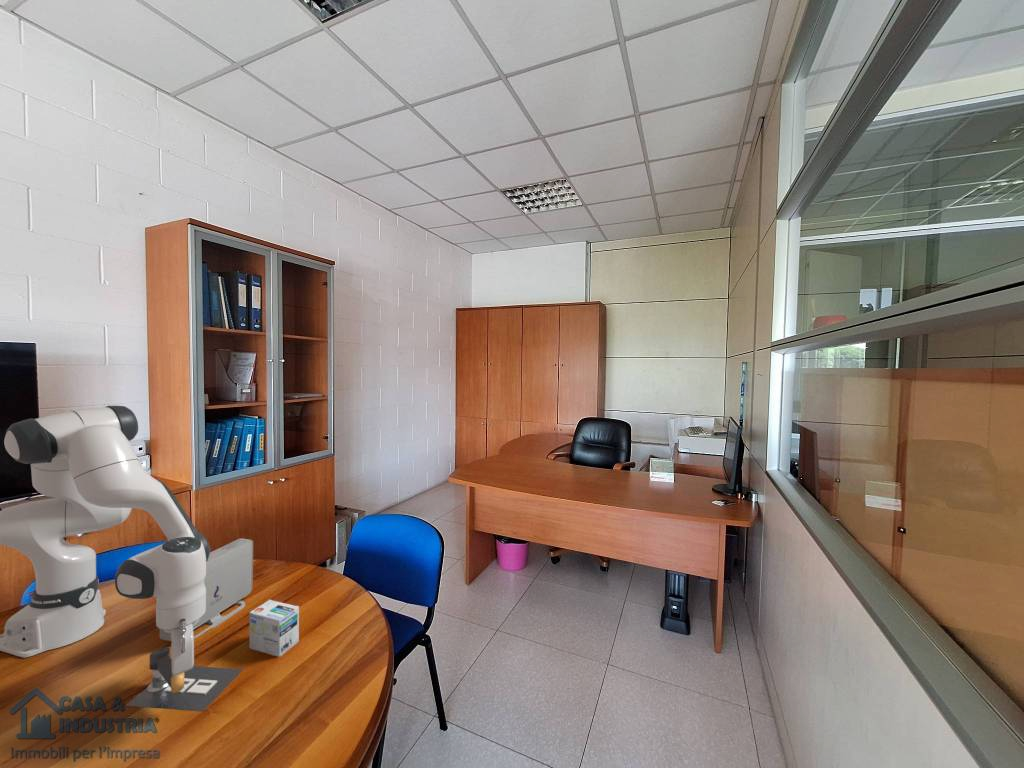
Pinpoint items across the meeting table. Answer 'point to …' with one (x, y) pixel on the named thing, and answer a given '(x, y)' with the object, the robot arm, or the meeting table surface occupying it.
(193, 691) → the white flat rectangle
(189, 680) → the psu label
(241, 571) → the network device
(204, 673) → the dark grey flat plate
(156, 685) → the pivot post
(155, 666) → the dark grey lever handle
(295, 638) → the light bulb box
